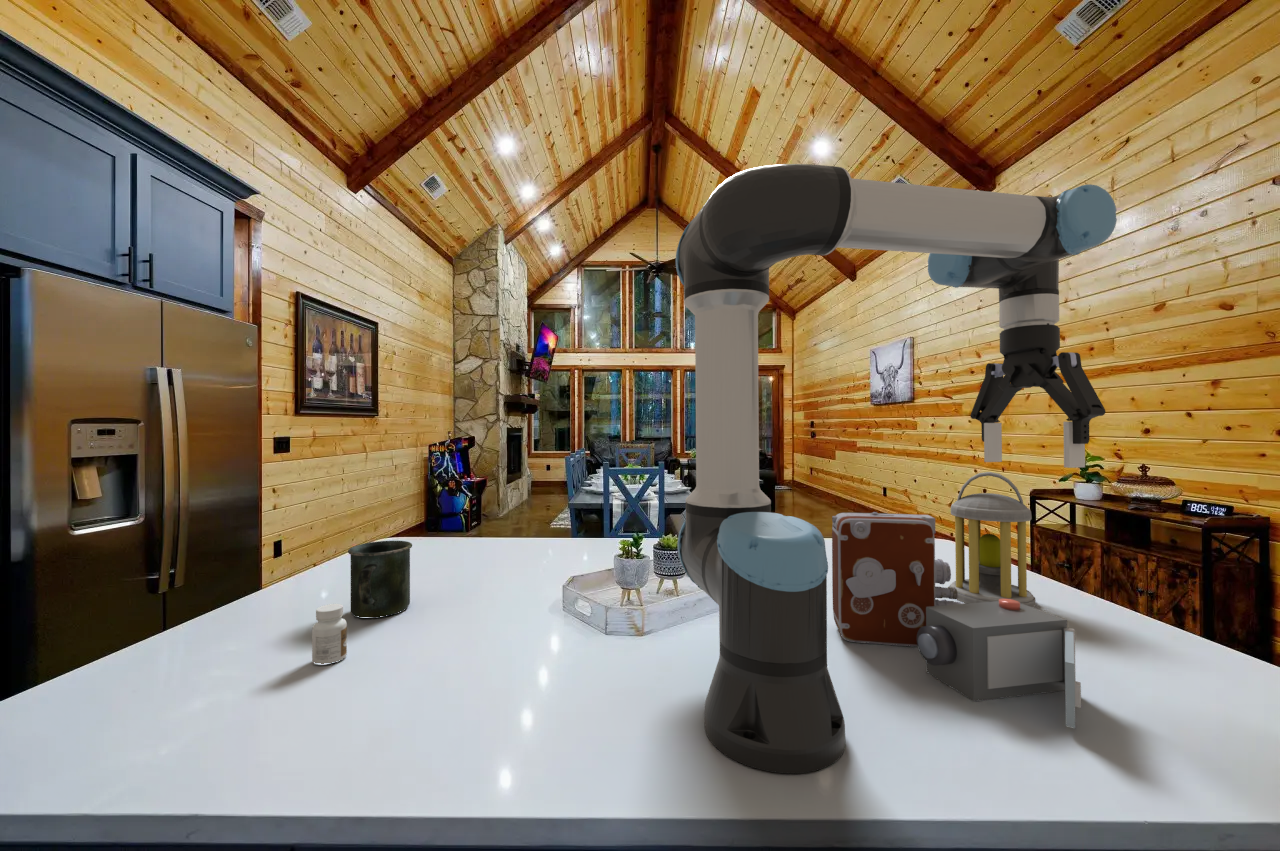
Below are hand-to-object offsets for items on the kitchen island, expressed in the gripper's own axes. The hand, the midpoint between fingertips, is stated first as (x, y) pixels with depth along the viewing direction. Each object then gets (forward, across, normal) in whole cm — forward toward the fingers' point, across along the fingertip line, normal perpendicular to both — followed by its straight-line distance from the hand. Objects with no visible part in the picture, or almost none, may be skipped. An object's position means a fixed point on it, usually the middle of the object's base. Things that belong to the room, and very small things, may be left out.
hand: (1030, 464), depth 81 cm
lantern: (+28, +21, -13) cm, 37 cm away
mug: (+28, +37, +104) cm, 114 cm away
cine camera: (+28, +7, +18) cm, 34 cm away
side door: (+27, -17, +13) cm, 34 cm away
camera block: (+28, -8, +16) cm, 34 cm away
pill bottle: (+28, +17, +105) cm, 110 cm away
